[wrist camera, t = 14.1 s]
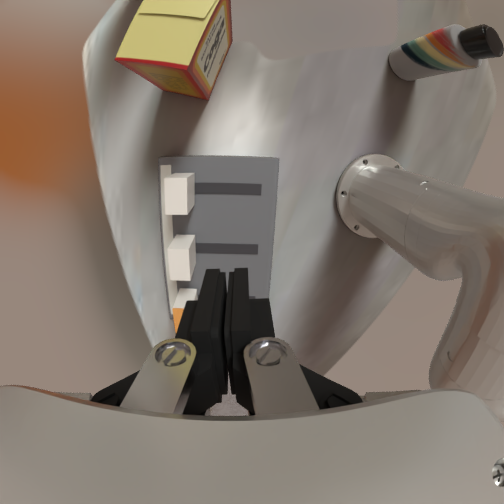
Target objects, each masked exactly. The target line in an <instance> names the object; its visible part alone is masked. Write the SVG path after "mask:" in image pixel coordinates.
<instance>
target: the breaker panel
mask: <svg viewBox="0 0 504 504" xmlns="http://www.w3.org/2000/svg"><path fill="white" fill-rule="evenodd" d="M158 169H159V206H160V225H161V240H162V252H163V263H164V273H165V283H166V291H167V299H168V307H169V314H170V319H174V318H173V310H172V309H173V306H174V303H175V300H176V297H177V295H178V292H179V289H180V288H188V289H197V296H198V298H199V294H200V290H201V286H202V283H203V279H204V275H205V271H206V269H220V272H225V274H226V285H227V290H228V280H229V272H234V268H248V281H249V299H260V298H269V291H270V280H271V268H272V256H273V243H274V230H275V217H276V203H277V188H278V172H279V158H272V157H252V156H164V157H159V158H158ZM174 173H195V185H194V190H195V205H194V206H193V208H192V209H191V210H190V212H189V213H188V215H165V195H164V178H166V177H168V176H170V175H172V174H174ZM176 235H195V247H196V265H195V268H194V271H193V274H192V277H191V281H179V280H170V274H169V263H168V251H167V249H168V247H169V245H170V244H171V242H172V241H173V239H174V238H175V236H176Z"/></svg>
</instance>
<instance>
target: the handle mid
mask: <svg viewBox="0 0 504 504" xmlns="http://www.w3.org/2000/svg"><path fill="white" fill-rule="evenodd" d="M167 251H168V263H169V274H170V280H179V281H191V277H192V274H193V271H194V268H195V265H196V247H195V235H176V236H175V238H174V239H173V241H172V242H171V244H170V245H169V247H168V249H167Z"/></svg>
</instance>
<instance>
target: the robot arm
mask: <svg viewBox="0 0 504 504" xmlns="http://www.w3.org/2000/svg"><path fill="white" fill-rule="evenodd" d="M363 161H364V163H362V162H363ZM342 191H343V194H341V192H342ZM336 203H337V208H338V212H339V214H340V217H341V218H342V220H343V222H344V223H345V224H346V225H347V227H348V228H349V229H351V230H352V231H353V232H354V233H356V234H358V235H360V236H362V237H366V238H380V239H381V240H382V241H383V242H385V243H386V244H387V245H388V246H390V247H391V248H392V249H393V250H395V251H396V252H397V253H398V254H400V255H401V256H402V257H403V258H405V259H406V260H407V261H408V262H409V263H411V264H412V265H413V266H414V267H415V268H417V269H418V270H419V271H420V272H422V273H423V274H425V275H426V276H428V277H430V278H432V279H435V280H440V281H446V280H454V279H458V278H461V277H462V285H461V288H460V291H459V294H458V297H457V301H456V305H455V307H454V310H453V312H452V315H451V317H450V320H449V322H448V324H447V327H446V329H445V331H444V333H443V335H442V338H441V340H440V342H439V344H438V347H437V349H436V351H435V353H434V356H433V358H432V361H431V364H430V369H429V384H430V388H431V389H429V390H410V391H396V392H369V393H367V392H366V394H365V396H359V395H358V394H357V393H355V392H354V391H352V390H350V389H348V388H346V387H344V386H342V385H340V384H337V383H336V382H333V381H331V380H329V379H327V378H325V377H323V376H321V375H319V374H317V373H315V372H313V371H311V370H309V369H307V368H306V367H304V366H302V365H300V364H299V363H298V361H297V359H296V356H295V354H294V352H293V350H292V348H291V347H290V345H289V344H288V343H286V342H285V341H284V340H281V339H278V338H275V333H274V327H273V321H272V314H271V308H270V302H269V298H260V299H249V281H248V268H234V272H229V280H228V290H227V285H226V274H225V272H220V269H206V271H205V275H204V279H203V283H202V286H201V290H200V294H199V298H198V300H188V301H186V304H185V307H184V310H183V313H182V317H181V320H180V323H179V326H178V330H177V333H176V336H175V338H173V339H168V340H165V341H162V342H160V343H159V344H157V345H156V346H155V347H154V348H153V349H152V351H151V352H150V354H149V356H148V358H147V359H146V361H145V363H144V364H143V366H142V368H141V370H139V371H138V372H136V373H134V374H132V375H130V376H128V377H126V378H124V379H122V380H120V381H118V382H116V383H114V384H112V385H110V386H109V387H106V388H104V389H102V390H101V391H99V392H98V393H96V394H95V395H94V396H92V395H91V393H62V392H51V391H47V390H43V389H39V388H34V387H28V386H21V385H4V386H0V504H504V427H503V425H502V424H501V422H504V198H500V197H495V196H491V195H487V194H483V193H480V192H476V191H473V190H469V189H466V188H463V187H460V186H456V185H453V184H450V183H447V182H444V181H440V180H437V179H434V178H430V177H427V176H423V175H419V174H416V173H412V172H408V171H405V170H404V169H403V168H402V166H401V165H400V164H399V163H398V162H397V161H396V160H394V159H392V158H390V157H388V156H385V155H382V154H367V155H364V156H361V157H359V158H357V159H355V160H354V161H353V162H352V163H350V164H349V165H348V167H347V168H346V169H345V170H344V172H343V174H342V176H341V177H340V180H339V183H338V186H337V193H336ZM355 225H356V226H355ZM354 226H355V227H354ZM228 370H229V378H230V385H231V393H232V394H236V400H237V403H239V404H240V405H241V406H243V407H244V408H246V409H247V410H248V416H210V407H212V406H213V405H214V404H216V403H221V402H222V394H227V391H228Z"/></svg>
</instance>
